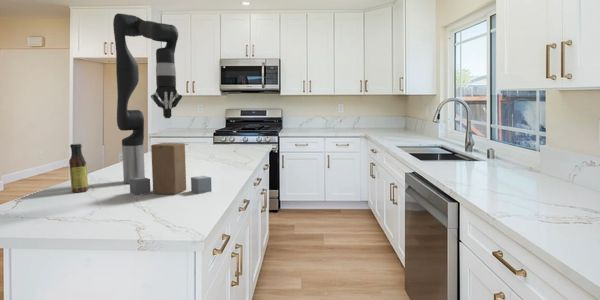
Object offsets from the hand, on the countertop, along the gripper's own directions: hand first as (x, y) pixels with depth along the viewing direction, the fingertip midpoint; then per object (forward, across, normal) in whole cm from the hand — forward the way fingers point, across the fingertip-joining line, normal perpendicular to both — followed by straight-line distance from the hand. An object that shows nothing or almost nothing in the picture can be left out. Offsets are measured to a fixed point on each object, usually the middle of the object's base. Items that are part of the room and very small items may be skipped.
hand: (167, 118), depth 173 cm
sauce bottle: (+31, +27, -27) cm, 49 cm away
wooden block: (+31, 0, 0) cm, 31 cm away
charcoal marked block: (+31, +10, -6) cm, 33 cm away
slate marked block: (+31, -10, +8) cm, 33 cm away
